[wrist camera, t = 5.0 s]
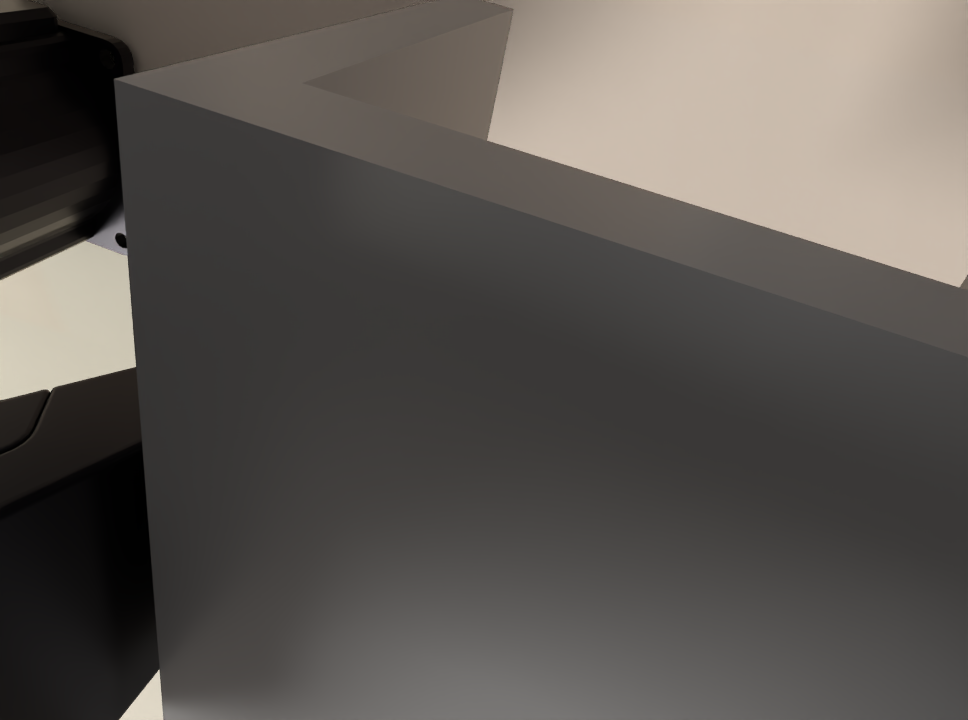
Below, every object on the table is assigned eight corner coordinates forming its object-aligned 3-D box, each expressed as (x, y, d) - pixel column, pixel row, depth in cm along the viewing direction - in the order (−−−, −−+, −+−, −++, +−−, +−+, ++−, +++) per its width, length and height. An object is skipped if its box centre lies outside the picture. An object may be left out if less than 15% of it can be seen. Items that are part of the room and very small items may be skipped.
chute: (759, 681, 11) (746, 1118, 7) (373, 521, 12) (171, 821, 8) (1111, 176, 7) (1609, 564, 3) (460, -6, 8) (112, 80, 4)
